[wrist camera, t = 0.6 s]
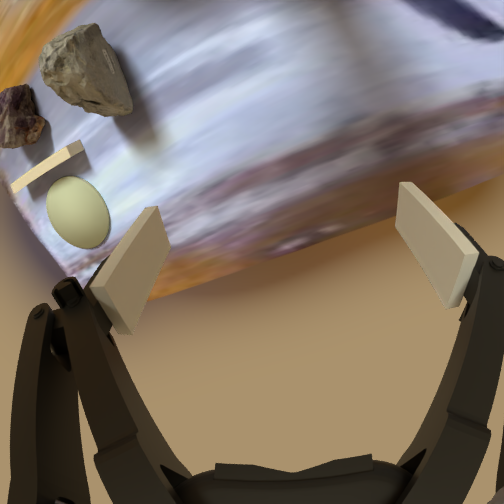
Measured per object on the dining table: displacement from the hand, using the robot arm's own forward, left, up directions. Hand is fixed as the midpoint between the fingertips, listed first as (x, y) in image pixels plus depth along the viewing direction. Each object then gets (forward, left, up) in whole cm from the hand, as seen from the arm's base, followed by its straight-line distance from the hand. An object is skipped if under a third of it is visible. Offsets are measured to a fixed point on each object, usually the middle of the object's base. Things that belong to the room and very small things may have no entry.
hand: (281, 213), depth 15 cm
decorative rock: (-17, -20, -27) cm, 37 cm away
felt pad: (+3, -38, -27) cm, 46 cm away
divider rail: (-8, -39, -27) cm, 47 cm away
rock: (-19, -40, -27) cm, 51 cm away
